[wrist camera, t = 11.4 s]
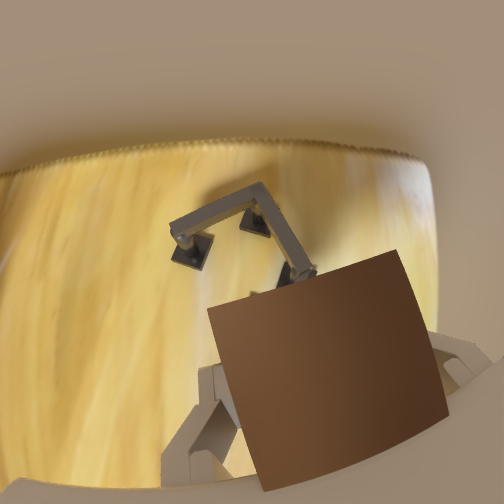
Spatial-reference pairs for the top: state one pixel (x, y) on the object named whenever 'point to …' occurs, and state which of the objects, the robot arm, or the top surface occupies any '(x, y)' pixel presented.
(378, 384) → the walnut peg
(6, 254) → the top surface
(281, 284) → the bent rail on posts
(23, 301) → the top surface
